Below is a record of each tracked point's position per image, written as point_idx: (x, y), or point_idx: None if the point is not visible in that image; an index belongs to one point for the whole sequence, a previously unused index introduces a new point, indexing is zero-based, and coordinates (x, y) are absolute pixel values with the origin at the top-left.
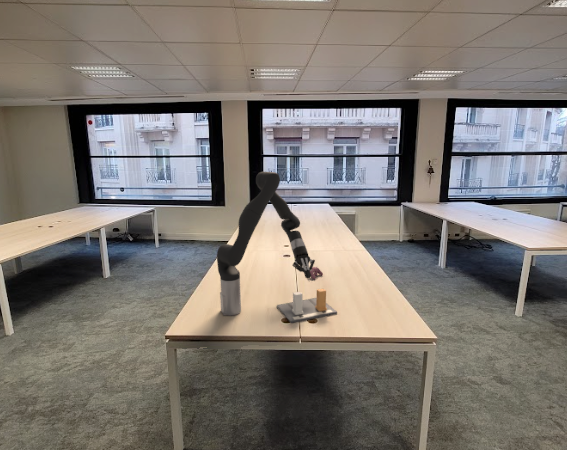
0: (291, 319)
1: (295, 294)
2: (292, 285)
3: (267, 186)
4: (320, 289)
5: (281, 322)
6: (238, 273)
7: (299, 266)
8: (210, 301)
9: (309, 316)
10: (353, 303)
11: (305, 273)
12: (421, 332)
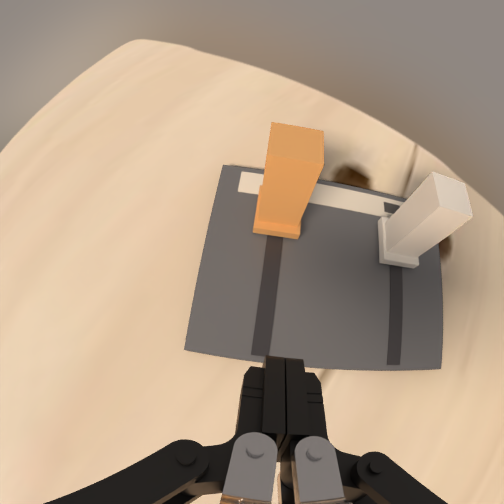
0: None
1: (464, 189)
2: None
3: None
4: (296, 151)
5: (453, 234)
6: None
7: (411, 502)
8: None
9: (361, 192)
10: (89, 208)
11: (321, 411)
12: (130, 46)
